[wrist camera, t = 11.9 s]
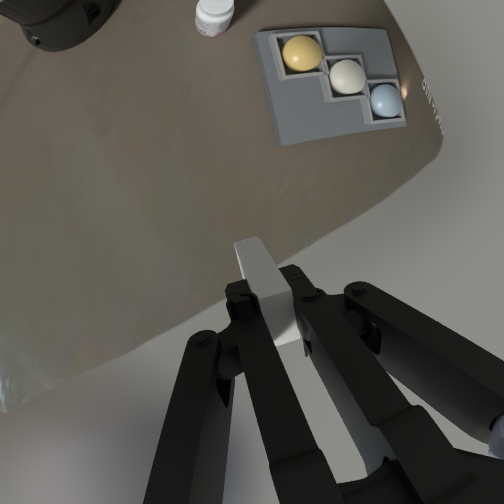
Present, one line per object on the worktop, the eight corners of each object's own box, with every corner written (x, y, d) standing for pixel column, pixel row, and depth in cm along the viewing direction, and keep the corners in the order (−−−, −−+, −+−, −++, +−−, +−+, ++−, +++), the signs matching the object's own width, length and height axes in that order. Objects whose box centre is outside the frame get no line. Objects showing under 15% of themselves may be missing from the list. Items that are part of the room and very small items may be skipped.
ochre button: (276, 41, 33) (281, 37, 31) (310, 39, 34) (317, 34, 31) (285, 74, 35) (290, 71, 33) (318, 70, 36) (325, 67, 34)
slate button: (364, 86, 38) (372, 84, 35) (389, 85, 38) (398, 84, 36) (370, 118, 40) (378, 118, 37) (395, 115, 40) (404, 115, 38)
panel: (251, 37, 35) (257, 28, 31) (378, 32, 37) (392, 27, 33) (277, 145, 42) (286, 146, 38) (397, 125, 44) (413, 126, 40)
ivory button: (323, 63, 35) (330, 60, 33) (353, 61, 36) (361, 59, 34) (330, 95, 37) (338, 94, 35) (360, 93, 38) (368, 91, 36)
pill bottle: (227, 9, 32) (236, -15, 25) (229, 36, 34) (239, 15, 27) (194, 11, 32) (196, -14, 24) (195, 38, 34) (197, 17, 26)
